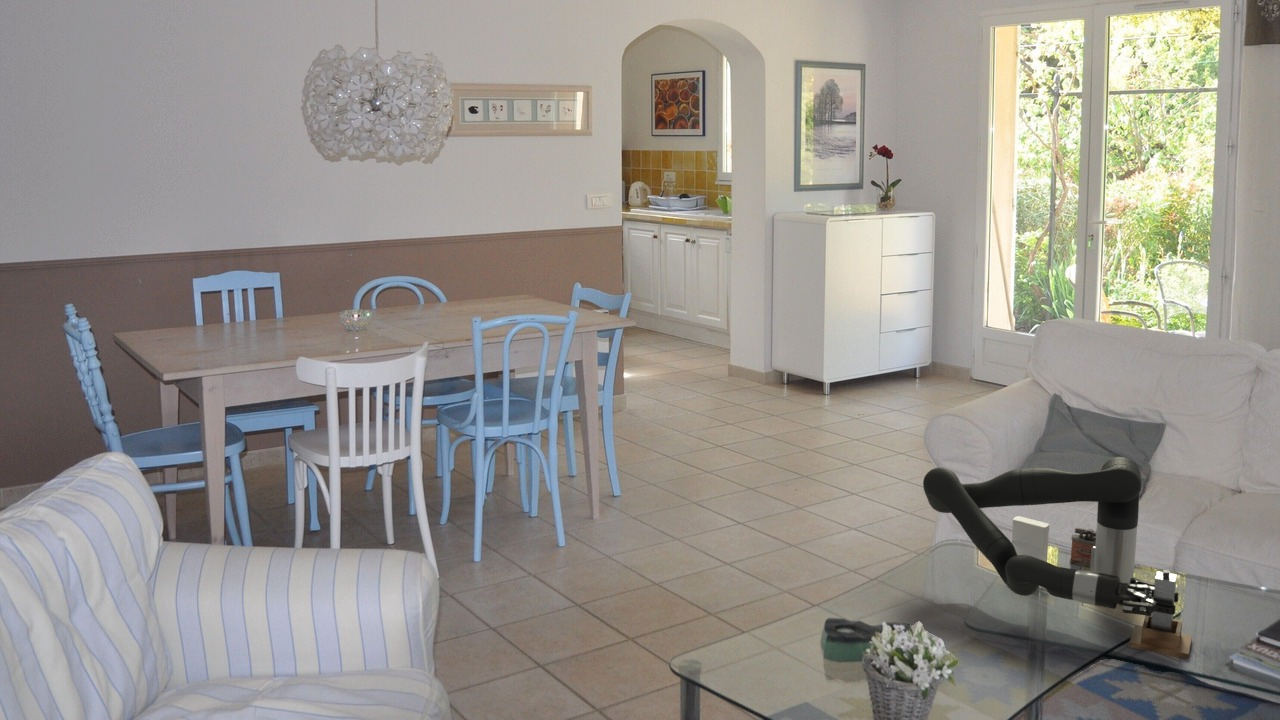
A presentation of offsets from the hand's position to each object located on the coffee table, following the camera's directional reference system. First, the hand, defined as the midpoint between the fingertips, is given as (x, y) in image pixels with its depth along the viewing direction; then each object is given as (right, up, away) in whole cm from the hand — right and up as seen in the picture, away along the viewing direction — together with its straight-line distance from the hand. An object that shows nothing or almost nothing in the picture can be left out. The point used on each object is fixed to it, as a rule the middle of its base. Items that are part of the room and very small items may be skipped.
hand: (1176, 603), depth 249 cm
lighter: (-3, 0, +43) cm, 43 cm away
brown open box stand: (-2, -10, +4) cm, 11 cm away
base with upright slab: (-17, 0, +45) cm, 48 cm away
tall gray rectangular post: (-2, -9, +4) cm, 10 cm away
